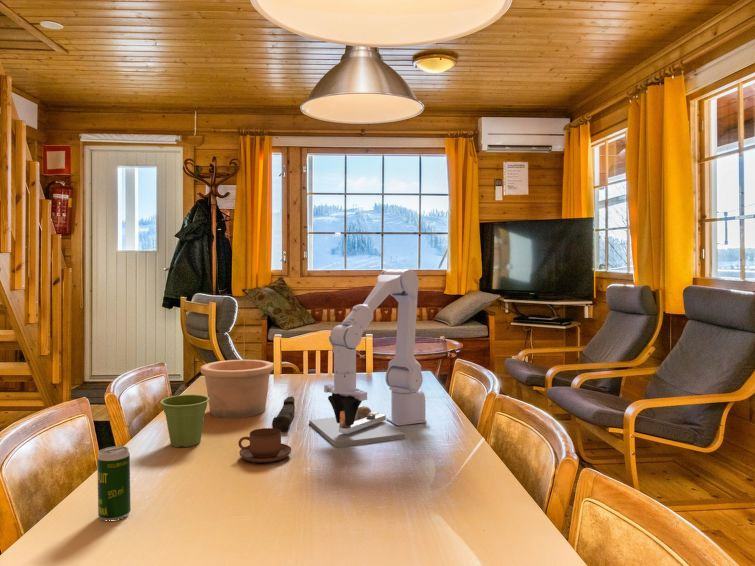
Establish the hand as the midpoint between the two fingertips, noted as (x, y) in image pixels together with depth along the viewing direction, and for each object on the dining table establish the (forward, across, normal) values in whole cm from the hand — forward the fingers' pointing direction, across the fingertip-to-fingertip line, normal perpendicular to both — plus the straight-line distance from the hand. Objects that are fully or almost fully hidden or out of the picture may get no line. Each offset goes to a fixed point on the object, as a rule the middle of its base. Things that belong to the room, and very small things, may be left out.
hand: (345, 423), depth 153 cm
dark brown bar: (+4, -25, -1) cm, 26 cm away
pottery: (+4, -45, -4) cm, 46 cm away
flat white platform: (+4, -4, +7) cm, 9 cm away
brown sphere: (+3, -7, +14) cm, 16 cm away
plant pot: (+4, -26, -31) cm, 41 cm away
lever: (+2, -2, +7) cm, 8 cm away
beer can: (+4, +5, -61) cm, 61 cm away
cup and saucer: (+5, -2, -23) cm, 23 cm away
